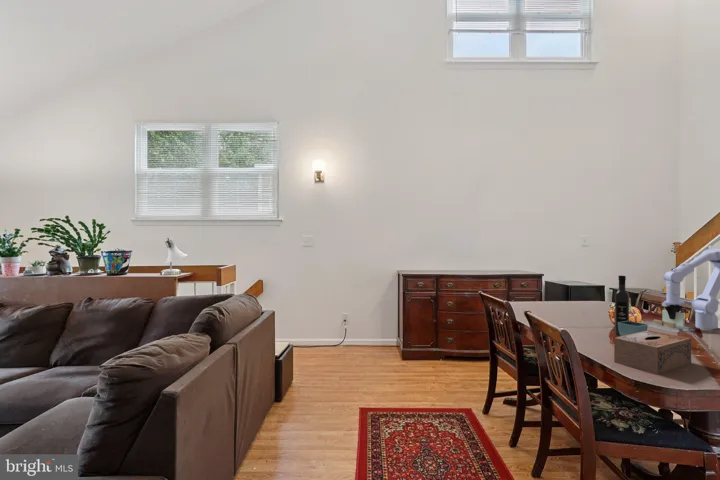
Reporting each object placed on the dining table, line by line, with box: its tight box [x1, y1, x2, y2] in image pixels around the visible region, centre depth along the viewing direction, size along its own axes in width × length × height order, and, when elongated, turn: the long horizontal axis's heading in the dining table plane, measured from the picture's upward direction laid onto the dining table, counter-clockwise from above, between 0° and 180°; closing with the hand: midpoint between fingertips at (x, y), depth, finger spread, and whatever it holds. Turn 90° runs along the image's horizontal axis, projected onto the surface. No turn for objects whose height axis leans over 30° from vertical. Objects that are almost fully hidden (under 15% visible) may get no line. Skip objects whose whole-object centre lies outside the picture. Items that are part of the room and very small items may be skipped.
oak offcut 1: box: [652, 319, 664, 326], centre depth 198 cm, size 2×4×4 cm, turn 18°
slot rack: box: [645, 321, 694, 333], centre depth 196 cm, size 15×16×2 cm
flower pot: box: [618, 320, 648, 337], centre depth 173 cm, size 9×9×9 cm
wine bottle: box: [614, 275, 630, 336], centre depth 186 cm, size 6×6×30 cm
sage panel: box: [661, 309, 686, 327], centre depth 197 cm, size 1×10×8 cm, turn 17°
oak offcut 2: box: [664, 322, 676, 328], centre depth 193 cm, size 2×4×4 cm, turn 18°
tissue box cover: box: [613, 329, 692, 375], centre depth 145 cm, size 26×14×10 cm, turn 117°
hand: (673, 319), depth 197 cm, fingers closed on sage panel, 1 cm apart
